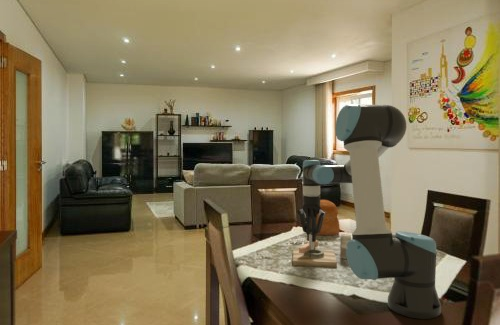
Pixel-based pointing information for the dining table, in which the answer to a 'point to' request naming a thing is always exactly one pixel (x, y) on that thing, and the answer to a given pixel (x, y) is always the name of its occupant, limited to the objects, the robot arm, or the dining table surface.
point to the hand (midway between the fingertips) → (311, 248)
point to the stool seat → (315, 258)
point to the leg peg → (344, 245)
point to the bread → (329, 218)
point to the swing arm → (307, 247)
